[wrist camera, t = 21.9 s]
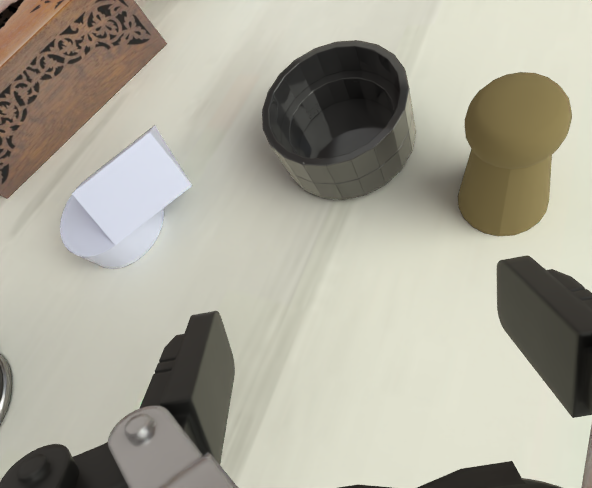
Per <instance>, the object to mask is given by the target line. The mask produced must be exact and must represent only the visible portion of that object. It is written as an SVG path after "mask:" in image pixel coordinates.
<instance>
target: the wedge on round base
mask: <svg viewBox="0 0 592 488" xmlns="http://www.w3.org/2000/svg"><path fill="white" fill-rule="evenodd" d="M191 186H192V184H191V183H190V181H189V179H188V178H187V176H186V175H185V173H184V171H183V170H182V168H181V166H180V165H179V163H178V162H177V160H176V158H175V157H174V155H173V153H172V152H171V150H170V149H169V147H168V145H167V144H166V142H165V140H164V139H163V137H162V136H161V134H160V132H159V131H158V129H157V127H156V126H155V125H154V126H153V127H152V128H150V129H149V130H148V131H147V132H145V133H144V134H143V135H142V136H140V137H139V138H138V139H136V140H135V141H134V142H133V143H131V144H130V145H129V146H128V147H126V148H125V149H124V150H122V151H121V152H120V153H119V154H117V155H116V156H115V157H114V158H112V159H111V160H110V161H109V162H107V163H106V164H105V165H103V166H102V167H101V168H100V169H98V170H97V171H96V172H95V173H93V174H92V175H91V176H90V177H88V178H87V179H86V180H85V181H83V182H82V183H81V184H80V185H79V186H78V187H77V188H76V190H75V191H74V192H73V193H72V195H71V196H70V198H69V200H68V202H67V203H66V206H65V208H64V210H63V214H62V217H61V223H60V233H61V238H62V241H63V243H64V245H65V247H66V248H67V249H68V250H69V251H70V252H72V253H73V254H75V255H78V256H80V257H82V258H84V259H86V260H89V261H91V262H93V263H95V264H98V265H100V266H102V267H105V268H111V269H115V268H121V267H125V266H127V265H130V264H132V263H134V262H135V261H137V260H138V259H140V258H141V257H142V256H143V255H144V254H145V253H146V252H147V251H148V250H149V249H150V248H151V246H152V245H153V244H154V242H155V241H156V239H157V237H158V235H159V233H160V230H161V227H162V224H163V218H164V207H166V206H167V205H168V204H169V203H171V202H172V201H173V200H175V199H176V198H177V197H178V196H180V195H181V194H182V193H184V192H185V191H186V190H187V189H189V188H190V187H191Z"/></svg>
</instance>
